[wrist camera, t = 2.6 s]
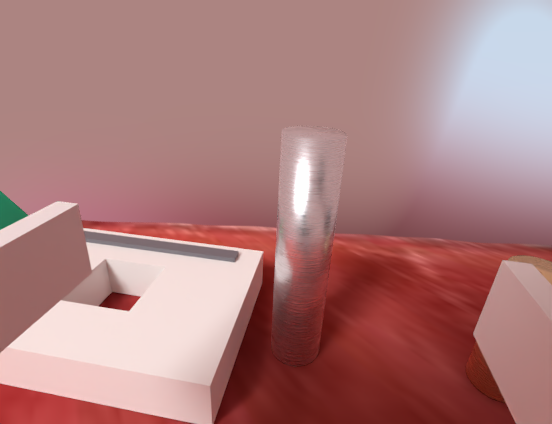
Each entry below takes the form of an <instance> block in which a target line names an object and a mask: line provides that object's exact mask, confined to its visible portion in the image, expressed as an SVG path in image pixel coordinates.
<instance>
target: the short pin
mask: <svg viewBox="0 0 552 424" xmlns="http://www.w3.org/2000/svg"><path fill="white" fill-rule="evenodd" d="M508 261H514V262H522V263H530V264H533V265H534V266H535V268H536V269H537V270H538V271H539V272H540V273H541V274H542V275H543V276H544V277H545V278H546V279H547V280H548V282H549V283H550V284H551V285H552V262H550V261H548V260H544V259H541V258H537V257H532V256H513V257H511V258H509V259H508ZM466 374H467V376H468V378H469V380H470V381H471V383H472V384H473V385H474V386H475V387H476V388H477V389H478V390H479V391H480V392H482V393H483V394H485V395H486V396H488V397H490V398H492V399H494V400H496V401H499V402H502V403H506V402H505V400H504V398H503V396H502V394H501V392H500V389H499V387H498V385H497V383H496V381H495V379H494V377H493V375H492V373H491V371H490V369H489V366H488V364H487V362H486V360H485V358H484V356H483V354H482V352H481V350H480V348H479V346H478V344H477V341H476V342H475V344H474V347H473V349H472V352H471V355H470V357H469V360H468V362H467V365H466Z"/></svg>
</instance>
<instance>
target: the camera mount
mask: <svg viewBox="0 0 552 424" xmlns="http://www.w3.org/2000/svg"><path fill="white" fill-rule="evenodd" d="M27 216H28V215H27V214H26V213H25V212H24V211H23V210H22V209H20V208H19V207H18V206H17V205H16V204H15V203H14V202H12V201H11V200H10V199H9V198H8V197H7V196H6V195H4V194H3V193H2V192H1V191H0V230H1V229H3V228H5V227H7V226H9V225H11V224H13V223H15V222H17V221H19V220H21V219H23V218H25V217H27Z"/></svg>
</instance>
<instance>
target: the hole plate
mask: <svg viewBox="0 0 552 424" xmlns="http://www.w3.org/2000/svg"><path fill="white" fill-rule="evenodd" d="M83 230H84V235H85V240H86V245H87V250H88V254H89V259H90V264H91V269H92V274H91V275H89V276H88V277H87V278H86V279H85V280H84V281H82V282H81V283H80V284H79V285H78V286H77V287H76V288H74V289H73V290H72V291H71V292H70V293H69V294H67V295H66V296H65V297H64V298H63V299H62V300H61V301H59V302H58V303H57V304H56V305H55V306H54V307H52V308H51V309H50V310H49V311H48V312H47V313H46V314H44V315H43V316H42V317H41V318H40V319H39V320H37V321H36V322H35V323H34V324H33V325H32V326H31V327H29V328H28V329H27V330H26V331H25V332H24V333H23V334H21V335H20V336H19V337H18V338H17V339H16V340H14V341H13V342H12V343H11V344H10V345H9V346H8V347H6V348H5V349H4V350H3V351H2V352H1V353H0V383H1V384H6V385H10V386H15V387H20V388H25V389H30V390H35V391H39V392H44V393H49V394H54V395H59V396H64V397H69V398H73V399H78V400H83V401H88V402H93V403H98V404H102V405H107V406H112V407H117V408H122V409H127V410H131V411H136V412H141V413H146V414H151V415H156V416H160V417H165V418H170V419H175V420H180V421H185V422H189V423H194V424H214V421H215V418H216V415H217V412H218V410H219V407H220V404H221V401H222V398H223V395H224V392H225V389H226V386H227V384H228V381H229V378H230V375H231V372H232V369H233V366H234V363H235V360H236V357H237V355H238V352H239V349H240V346H241V343H242V340H243V337H244V334H245V331H246V329H247V326H248V323H249V320H250V317H251V314H252V311H253V308H254V305H255V302H256V300H257V297H258V294H259V291H260V288H261V285H262V275H263V251H256V250H248V249H240V248H233V247H225V246H217V245H210V244H202V243H194V242H187V241H179V240H171V239H164V238H156V237H148V236H141V235H133V234H125V233H118V232H110V231H102V230H95V229H87V228H83ZM112 292H116V293H122V294H129V295H135V296H141V298H140V299H139V300H138V301H137V302H136V304H135V305H134V306H133V307H132V309H131V310H130V311H123V310H117V309H111V308H105V307H99V305H100V304H101V303H102V302H103V301H104V300H105V299H106V298H107V297H108V296H109V295H110V294H111V293H112Z"/></svg>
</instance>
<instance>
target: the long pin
mask: <svg viewBox="0 0 552 424" xmlns="http://www.w3.org/2000/svg"><path fill="white" fill-rule="evenodd" d="M346 142H347V134H346V133H345V132H343V131H340V130H337V129H333V128H327V127H318V126H293V127H287V128H284V129H282V135H281V156H280V175H279V195H278V215H277V217H278V218H277V235H276V254H275V274H274V294H273V314H272V334H271V350H272V353H273V354H274V356H275V357H276V358H277V359H278V360H279V361H281V362H282V363H284V364H287V365H290V366H304V365H307V364H309V363H311V362H312V361H314V360H315V359H316V357H317V355H318V352H319V346H320V338H321V331H322V323H323V316H324V308H325V301H326V293H327V285H328V278H329V270H330V263H331V255H332V248H333V240H334V233H335V225H336V217H337V210H338V203H339V195H340V188H341V179H342V171H343V165H344V157H345V150H346Z"/></svg>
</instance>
